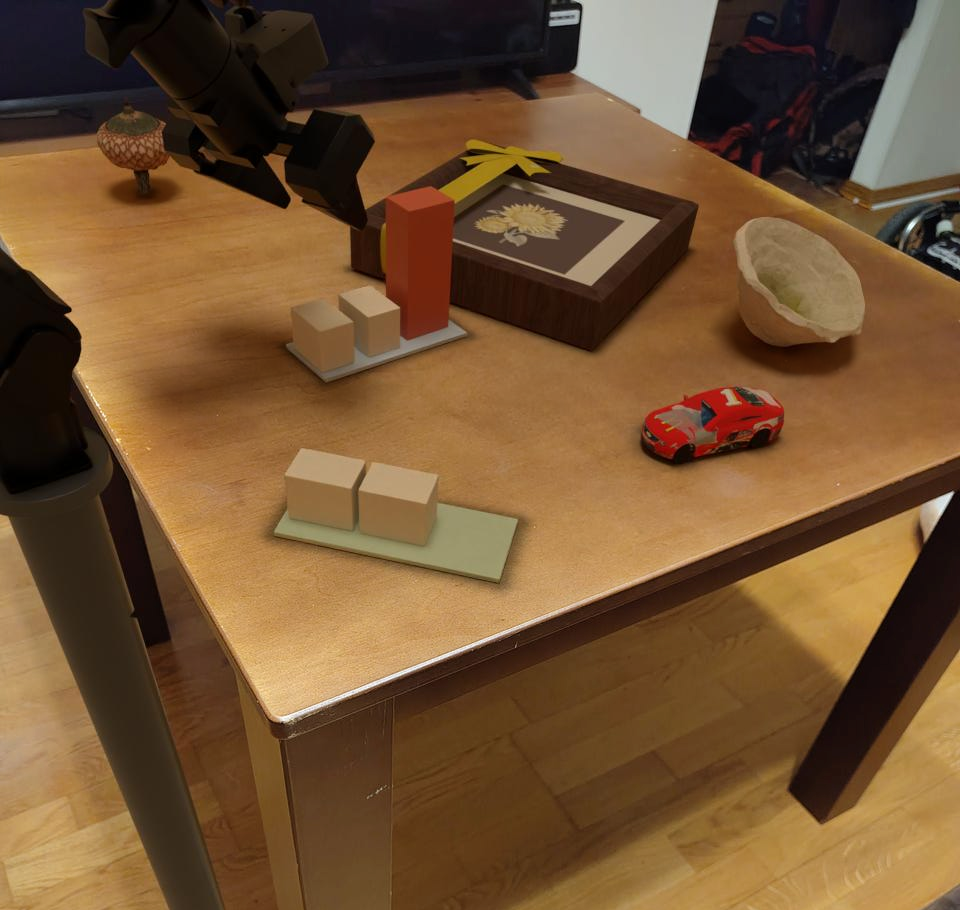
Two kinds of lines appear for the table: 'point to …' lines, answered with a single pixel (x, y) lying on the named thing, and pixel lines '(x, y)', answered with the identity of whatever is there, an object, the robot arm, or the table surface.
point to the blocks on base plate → (356, 334)
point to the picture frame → (544, 240)
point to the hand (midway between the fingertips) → (324, 214)
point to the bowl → (795, 285)
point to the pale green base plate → (390, 516)
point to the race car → (713, 423)
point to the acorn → (134, 143)
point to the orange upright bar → (419, 258)
